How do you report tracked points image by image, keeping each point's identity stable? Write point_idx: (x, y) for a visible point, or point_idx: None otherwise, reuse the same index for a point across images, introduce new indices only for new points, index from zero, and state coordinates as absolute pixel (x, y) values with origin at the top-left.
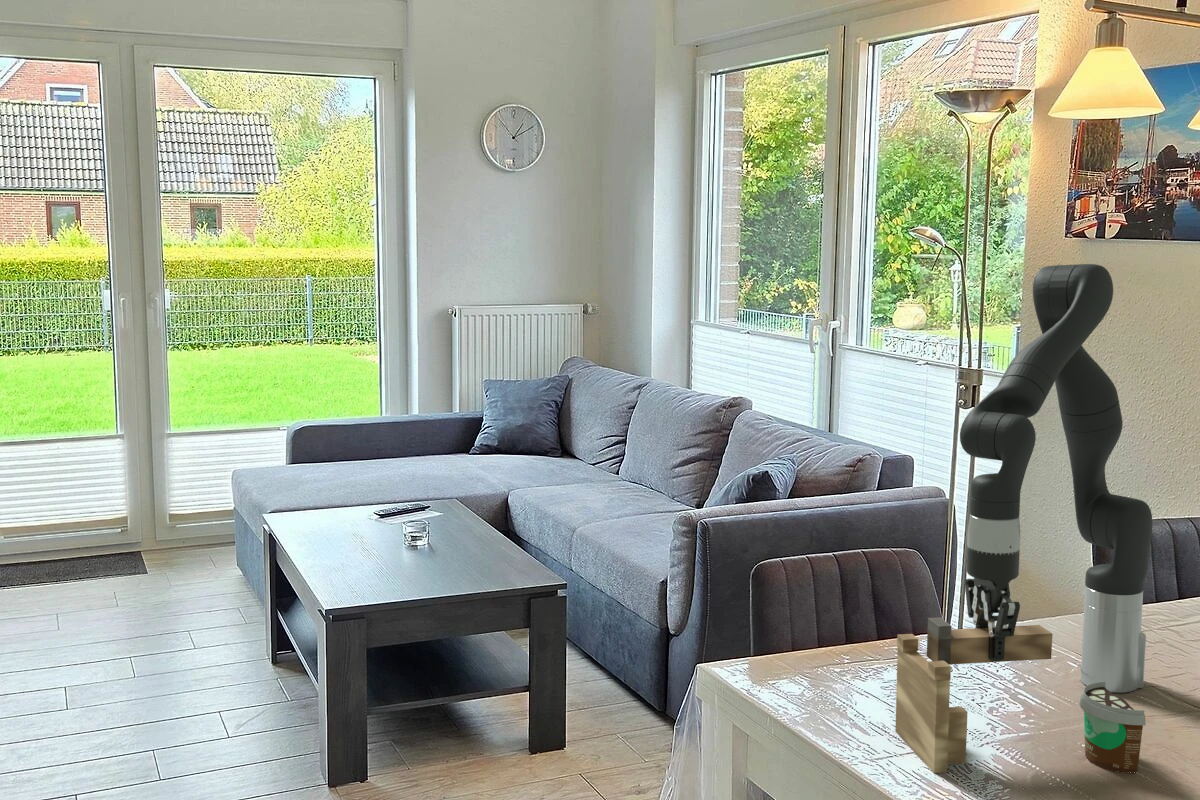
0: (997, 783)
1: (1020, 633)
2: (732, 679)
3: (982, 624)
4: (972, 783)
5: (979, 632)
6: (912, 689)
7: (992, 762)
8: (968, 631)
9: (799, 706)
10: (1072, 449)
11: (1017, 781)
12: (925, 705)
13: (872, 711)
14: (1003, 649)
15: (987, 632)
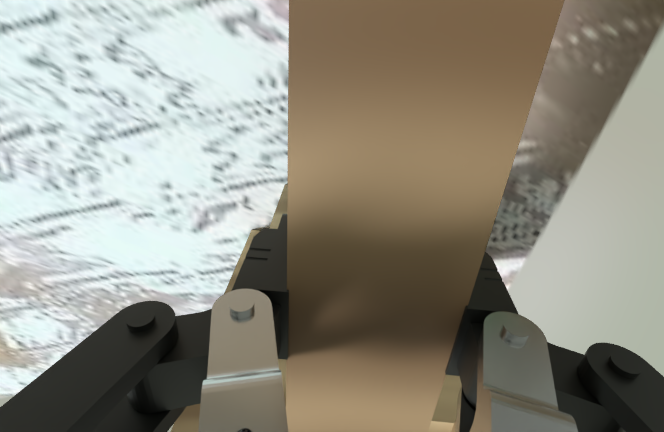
0: (536, 182)
1: (469, 172)
2: (14, 385)
3: (278, 347)
4: (513, 226)
5: (364, 379)
6: None
7: None
8: (333, 411)
9: None
10: None
11: (550, 138)
12: None
13: (148, 249)
14: (502, 282)
15: (375, 347)
